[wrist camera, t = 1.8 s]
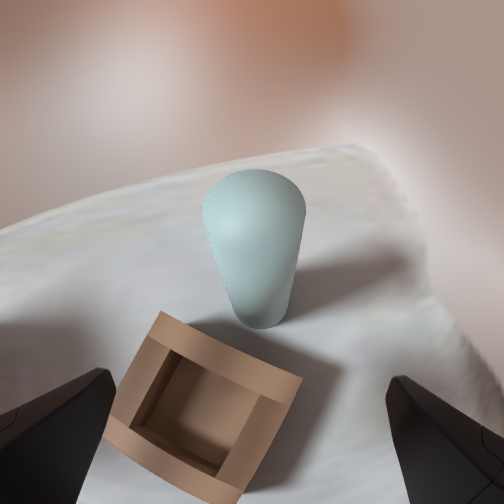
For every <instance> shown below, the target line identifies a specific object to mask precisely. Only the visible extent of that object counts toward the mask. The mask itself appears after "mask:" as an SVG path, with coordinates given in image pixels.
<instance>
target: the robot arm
mask: <svg viewBox="0 0 504 504" xmlns="http://www.w3.org/2000/svg"><path fill="white" fill-rule="evenodd" d="M115 395H116V386H115V384H114V381H113V378H112V375H111V373H110V371H109V370H108V369H105V368H96V369H94V370H92V371H90V372H88V373H86V374H84V375H82V376H80V377H78V378H76V379H74V380H72V381H70V382H68V383H66V384H64V385H62V386H60V387H58V388H56V389H54V390H52V391H50V392H48V393H46V394H44V395H42V396H40V397H38V398H36V399H34V400H32V401H30V402H28V403H26V404H23V405H21V406H20V407H17V408H15V409H13V410H11V411H9V412H6V413H4V414H2V415H0V504H76V502H77V499H78V496H79V493H80V491H81V488H82V485H83V483H84V480H85V477H86V475H87V472H88V470H89V467H90V465H91V462H92V460H93V457H94V455H95V452H96V450H97V447H98V445H99V442H100V440H101V438H102V435H103V433H104V430H105V427H106V424H107V421H108V418H109V414H110V411H111V408H112V405H113V401H114V398H115ZM385 400H386V406H387V411H388V417H389V422H390V428H391V433H392V438H393V443H394V446H395V450H396V453H397V456H398V460H399V463H400V467H401V471H402V474H403V478H404V482H405V486H406V489H407V493H408V497H409V502H410V504H504V438H502V437H501V436H499V435H497V434H495V433H494V432H492V431H490V430H489V429H487V428H486V427H484V426H481V424H479V423H478V422H476V421H474V420H473V419H471V418H470V417H468V416H467V415H465V414H464V413H462V412H460V411H459V410H457V409H456V408H454V407H453V406H451V405H450V404H448V403H447V402H445V401H443V400H442V399H440V398H439V397H437V396H436V395H434V394H433V393H431V392H430V391H428V390H427V389H425V388H424V387H422V386H420V385H419V384H417V383H416V382H414V381H413V380H411V379H410V378H408V377H407V376H405V375H401V376H395V377H393V378H392V379H391V382H390V385H389V388H388V391H387V393H386V399H385Z"/></svg>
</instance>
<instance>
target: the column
mask: <svg viewBox="0 0 504 504" xmlns="http://www.w3.org/2000/svg"><path fill="white" fill-rule="evenodd" d="M305 215H306V205H305V201H304V197H303V195H302V193H301V192H300V190H299V189H298V187H297V186H296V185H295V184H294V183H293V182H291V181H290V180H289V179H287V178H286V177H284V176H282V175H280V174H277V173H275V172H271V171H266V170H244V171H240V172H236V173H233V174H231V175H229V176H226V177H225V178H223V179H221V180H220V181H219V182H217V183H216V184H215V185H214V186H213V187H212V188H211V189H210V191H209V192H208V194H207V195H206V197H205V199H204V202H203V205H202V220H203V224H204V227H205V230H206V233H207V235H208V238H209V241H210V244H211V247H212V250H213V253H214V256H215V259H216V262H217V265H218V267H219V270H220V273H221V276H222V279H223V282H224V284H225V287H226V290H227V293H228V296H229V298H230V301H231V304H232V307H233V309H234V312H235V314H236V316H237V318H238V319H239V320H240V321H241V322H242V323H243V324H245V325H247V326H248V327H251V328H255V329H265V328H269V327H272V326H274V325H276V324H277V323H279V322H280V321H281V320H282V319H283V317H284V316H285V314H286V312H287V309H288V304H289V299H290V295H291V290H292V285H293V280H294V275H295V270H296V264H297V259H298V254H299V248H300V243H301V238H302V232H303V226H304V221H305Z"/></svg>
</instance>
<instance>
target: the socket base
mask: <svg viewBox="0 0 504 504" xmlns="http://www.w3.org/2000/svg"><path fill="white" fill-rule="evenodd" d="M302 380H303V378H302V377H299V376H297V375H294V374H292V373H289V372H287V371H284V370H282V369H280V368H277V367H275V366H273V365H270V364H268V363H266V362H263V361H261V360H259V359H257V358H254V357H252V356H250V355H248V354H246V353H243V352H241V351H239V350H237V349H235V348H233V347H231V346H228V345H226V344H224V343H222V342H220V341H218V340H216V339H214V338H212V337H210V336H208V335H206V334H204V333H202V332H200V331H198V330H196V329H194V328H192V327H190V326H188V325H187V324H185V323H183V322H181V321H179V320H177V319H175V318H173V317H172V316H170V315H168V314H166V313H164V312H162V311H161V312H160V313H159V315H158V317H157V318H156V320H155V322H154V324H153V325H152V327H151V329H150V331H149V332H148V334H147V336H146V338H145V340H144V341H143V343H142V345H141V347H140V349H139V350H138V352H137V354H136V356H135V358H134V359H133V361H132V363H131V365H130V367H129V369H128V370H127V372H126V374H125V376H124V378H123V380H122V382H121V384H120V386H119V387H118V389H117V391H116V395H115V398H114V401H113V405H112V408H111V411H110V414H109V418H108V421H107V424H106V427H105V430H104V433H103V435H102V438H104V439H105V440H106V441H107V442H109V443H110V444H111V445H113V446H114V447H115V448H117V449H118V450H119V451H121V452H122V453H124V454H125V455H126V456H128V457H129V458H131V459H132V460H134V461H135V462H137V463H138V464H140V465H141V466H143V467H144V468H146V469H147V470H149V471H150V472H152V473H154V474H155V475H157V476H158V477H160V478H162V479H164V480H165V481H167V482H169V483H170V484H172V485H174V486H176V487H178V488H179V489H181V490H183V491H185V492H187V493H189V494H191V495H193V496H195V497H197V498H199V499H201V500H203V501H205V502H207V503H209V504H236V503H237V501H238V500H239V498H240V497H241V495H242V493H243V492H244V490H245V489H246V487H247V485H248V484H249V482H250V480H251V479H252V477H253V475H254V473H255V472H256V470H257V468H258V466H259V465H260V463H261V461H262V459H263V458H264V456H265V454H266V452H267V450H268V449H269V447H270V445H271V443H272V441H273V439H274V437H275V435H276V433H277V432H278V430H279V428H280V426H281V424H282V422H283V420H284V418H285V416H286V414H287V412H288V410H289V408H290V406H291V404H292V401H293V399H294V397H295V395H296V393H297V391H298V389H299V387H300V384H301V382H302Z"/></svg>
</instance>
